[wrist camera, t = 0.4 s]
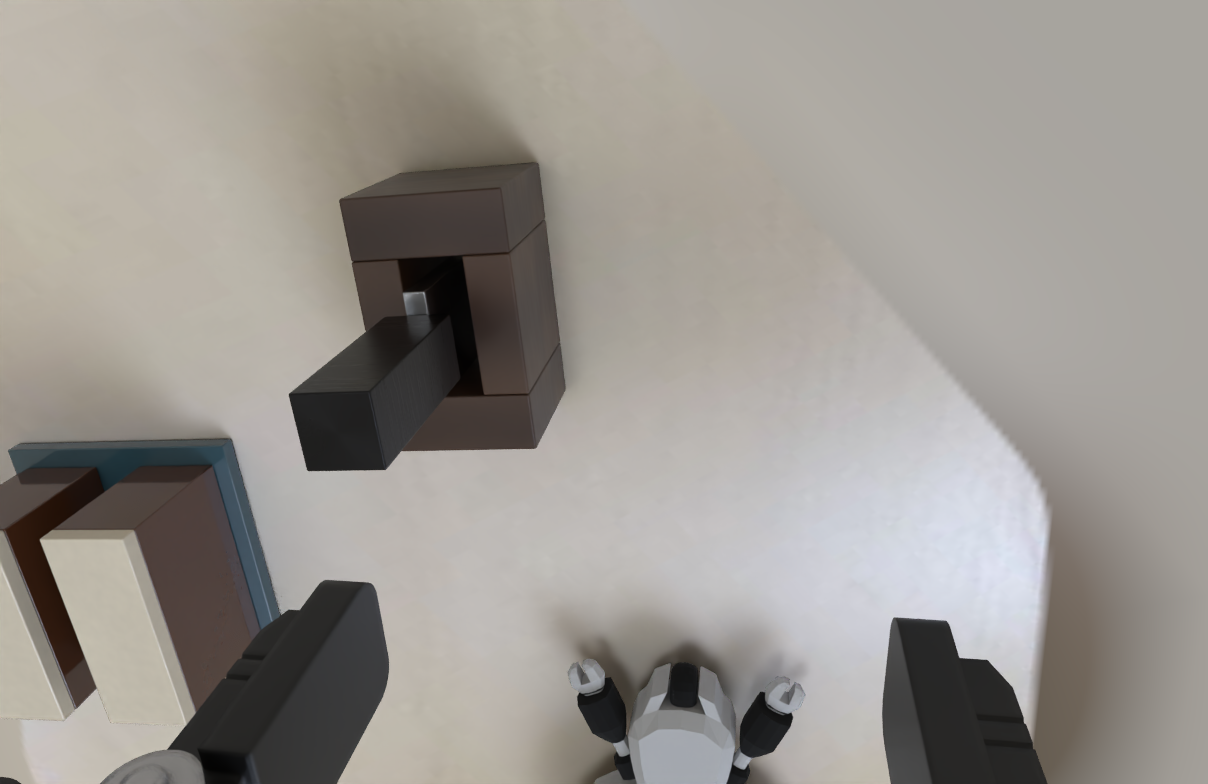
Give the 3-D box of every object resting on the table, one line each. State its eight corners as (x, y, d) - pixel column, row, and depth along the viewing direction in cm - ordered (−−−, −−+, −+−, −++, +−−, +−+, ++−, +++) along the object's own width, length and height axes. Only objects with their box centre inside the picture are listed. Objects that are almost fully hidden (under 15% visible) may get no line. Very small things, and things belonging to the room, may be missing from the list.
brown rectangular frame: (399, 172, 37) (337, 199, 31) (539, 162, 36) (501, 187, 30) (438, 394, 40) (389, 452, 35) (566, 390, 39) (536, 449, 34)
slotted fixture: (18, 443, 45) (-114, 519, 38) (231, 438, 43) (132, 518, 36) (91, 635, 50) (-16, 734, 43) (287, 639, 48) (208, 744, 41)
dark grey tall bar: (451, 241, 37) (281, 366, 24) (506, 237, 37) (364, 363, 23) (466, 330, 39) (312, 496, 25) (518, 328, 39) (391, 495, 25)
